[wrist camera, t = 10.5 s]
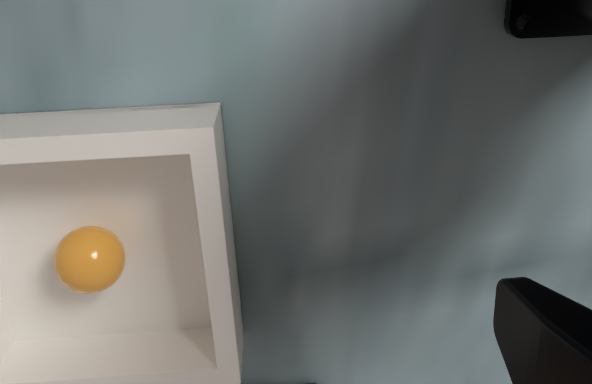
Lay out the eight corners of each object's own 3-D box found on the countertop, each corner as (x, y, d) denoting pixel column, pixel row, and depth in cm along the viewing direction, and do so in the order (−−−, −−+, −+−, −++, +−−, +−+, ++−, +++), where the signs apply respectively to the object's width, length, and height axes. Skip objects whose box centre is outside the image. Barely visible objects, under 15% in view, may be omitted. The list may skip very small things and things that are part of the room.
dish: (220, 102, 19) (213, 127, 16) (243, 333, 23) (240, 384, 20) (-70, 118, 19) (-127, 146, 16) (4, 349, 23) (-31, 403, 20)
